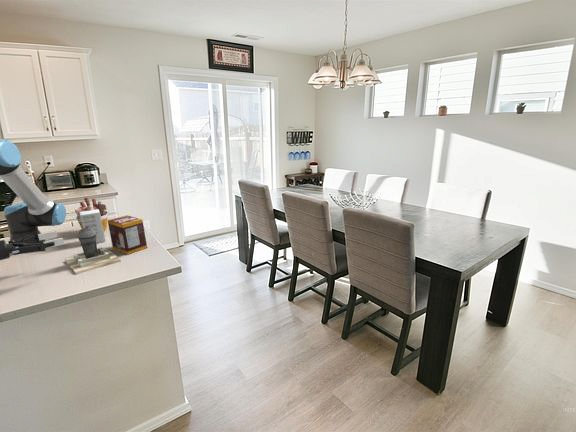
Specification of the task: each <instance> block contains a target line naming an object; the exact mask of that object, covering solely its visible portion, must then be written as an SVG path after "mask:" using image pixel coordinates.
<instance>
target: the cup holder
mask: <svg viewBox="0 0 576 432" xmlns="http://www.w3.org/2000/svg"><path fill="white" fill-rule="evenodd" d="M97 253H98V256H97V257H93V258H89V259H86V258H85V255H84V252H80V253H79V252H78V253H75V254H73V255H72V256H73V257H69V258H65V259H64V262H65V263H66V264H67V266H68V267H69V268H70V270H72V272H73V273H74V274H75V275H78V274H81V273H82V274H83V273H85V272H89V271H92V270H95V269H99V268H103V267H106V266H109V265H112V264H116V263H119V262H120V263H121V258H120V257H118V255H116V254H114V253H113V252H112V251H111V250H110V249H108V248H103V247H99V248H98V247H97Z"/></svg>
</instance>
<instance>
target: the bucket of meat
mask: <svg viewBox="0 0 576 432" xmlns="http://www.w3.org/2000/svg"><path fill="white" fill-rule="evenodd" d="M84 202H85V203H84ZM84 202H83V201H80V202H79V205H80V207H78V208H77V209H75V210H74V212H75V213H76V217H75V219H76V220H77V223H78V224H79V226H80V228H81V229H82V228H83V227H82V223H81V219H80V212H83V211H90V210H97V209H99V212H100V215H101V220H102V225H103V230H104V232H105V231H106V230H107V227H108V221H107V220H108V215H109V211H108V210H107V206H106V205H105V204H102V200H98V201H97V200H96V199H95V198H92V199H91V202H92V204H91V202H90V200H89V198H88V197H84Z"/></svg>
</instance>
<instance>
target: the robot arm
mask: <svg viewBox="0 0 576 432" xmlns="http://www.w3.org/2000/svg"><path fill="white" fill-rule="evenodd" d="M20 152H21V151H20V150H19V148H18V147H17V146H16V144H14V143H13V142H12V141H10V140H7V139H4V138H3V139H2V138H0V179H1V180H2V181H3V182H4V183H5V184H6V185H7V186H8V187H9V188H10V189H11V191H13V193H14V194H16V196H17V197H18V198H19V199H20V200H21V201H22V202H19V203H15V204H10V205H8V206H5V207H4V209H3V213H4V217H5V221H6V223H7V224H6V225H7V227H8V231H9V233H10V236H9V240H8V241H7V242H8V243H6V240H4V239H2V240H0V261H2V260H7V259H10V257H11V255H10V254H12V256H17V255H18V256H19V255H22V254H29V253H31V254H32V253H37V252H38V253H40V252H46V249H50V248H53V247H57V246H58V247H59V246H62V245H65V241H64V237H60V238H57V237H58V232H57V230H52V231H48V232H42V233H41V231H40V230H39V228H38V227H55V226H61V225H63V223H65V220H66V217H67V209H66V206H65V205H64V204H63V203H62V202H61V203H59V202H58V203H57V202H55V201H54V199H52V198H50V197H48V196H46V195H44V193H43V192H42V191H41V190H40V188H39V187H38V185H36V184H35V183H34V182H33V180H32V178H30V177H29V176H28V174H27V173H26V172H25V171H24V170H23V168H22V167H21V161H22V155H21V154H20ZM52 238H53V239H52ZM54 238H55V239H54ZM49 239H51V240H49Z"/></svg>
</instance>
